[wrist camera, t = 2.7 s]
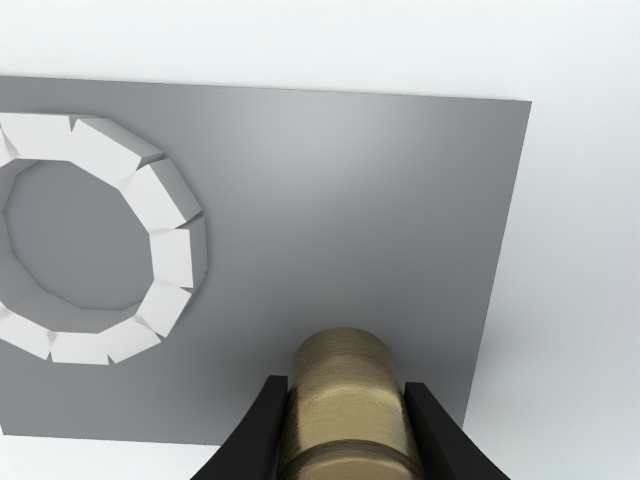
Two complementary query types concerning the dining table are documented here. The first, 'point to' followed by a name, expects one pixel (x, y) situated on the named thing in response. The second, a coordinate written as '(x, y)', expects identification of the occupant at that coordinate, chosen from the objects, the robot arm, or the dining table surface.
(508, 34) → the dining table surface
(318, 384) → the brass shaft
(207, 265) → the housing plate
